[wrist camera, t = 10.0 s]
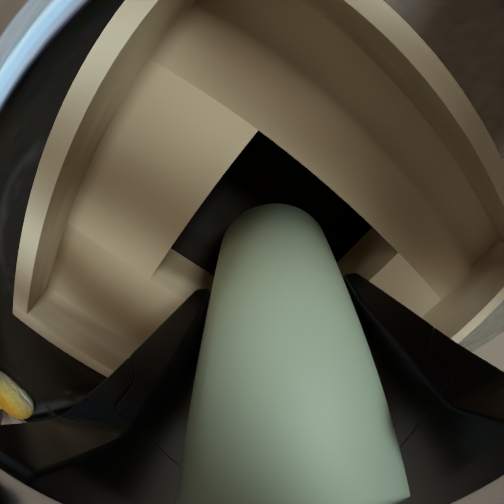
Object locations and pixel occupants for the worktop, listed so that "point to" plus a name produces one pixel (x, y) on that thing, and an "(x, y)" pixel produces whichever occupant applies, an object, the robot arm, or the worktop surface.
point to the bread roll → (14, 398)
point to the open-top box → (230, 146)
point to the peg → (286, 378)
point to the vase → (1, 416)
